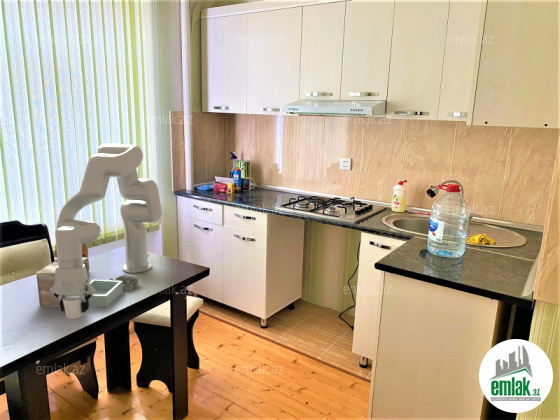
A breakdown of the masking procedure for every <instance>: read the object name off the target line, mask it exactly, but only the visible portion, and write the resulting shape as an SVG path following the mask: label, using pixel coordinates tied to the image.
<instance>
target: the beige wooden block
mask: <svg viewBox="0 0 560 420" xmlns="http://www.w3.org/2000/svg"><path fill="white" fill-rule="evenodd" d="M82 259H83V264H84V265H85V267H86V270H87V274H88V280H89V282H91V281H90V269H89V268H90V265H89V266H88V260H89V257H88V258H84V257H82ZM57 266H58V263H57V262H55V261H53V262H52V263H49V264H48V265H46V266H45V267H43V268H42V269H40V270H38V271H36V272H35V273H36V274H35V275H36V283H37V291H38V292H37V293H38V300H39V306H40V307H52V308H53V307H54V308H60V301H58V298H57V297H55V296H54V294H53V293H52V292H51V291H50V288H51V287H53V286H54V285H55V270H56V267H57Z"/></svg>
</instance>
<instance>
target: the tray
mask: <svg viewBox="0 0 560 420" xmlns="http://www.w3.org/2000/svg"><path fill="white" fill-rule="evenodd" d="M114 280H115V279H113V280H110V279H91V281H90V282H89V284H90V285H91V286H92V287H93V288H95V289H96V292H95V293H94V294H93V295H92V296H91V297H90V298H89V299H88V301H89V308H90V307H92V308H93V307H94V308H108V307H109V306H110V305H111V304H112V303H113V302H114V301H115V300H116V299H117V298H119V297H120V296H121V294H123V293H124V289H123V283H124V282H123V281H114ZM87 293H88V294H89V293H90V291H89V290H88V291H87Z"/></svg>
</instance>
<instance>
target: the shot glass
mask: <svg viewBox="0 0 560 420" xmlns="http://www.w3.org/2000/svg"><path fill="white" fill-rule="evenodd" d="M83 295H84V294H83ZM81 302H82V299H81V298H80V296H64V297H63V303H64V308H65V311H64V313H65V316H66V318H67V319H71V320H72V319H73V320H74V319H79V318H80V317H83V316H84V315H85V313H82V307H81Z"/></svg>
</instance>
